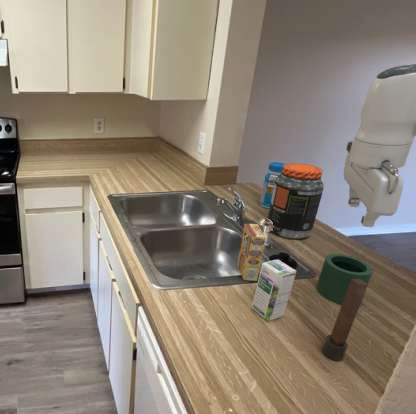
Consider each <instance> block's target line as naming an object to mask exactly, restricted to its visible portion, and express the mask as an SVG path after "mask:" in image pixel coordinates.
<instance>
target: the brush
mask: <svg viewBox="0 0 416 414" xmlns="http://www.w3.org/2000/svg"><path fill="white" fill-rule="evenodd" d="M368 285H369V284H368ZM368 285H367V284H366V283H365V282H364V281H363V280H361V279H351V281H350V284H349V287H348V290H347V292H346V295H345V298H344V301H343V303H342V304H341V306H340V309H339V312H338V315H337V317H336V320H335V323H334V324H333V328H332V331H331V333H330V334H327V335H326V337H325V340H324V342H323V346H322V348H321V353H322V354H323V356H324V357H326V358H327V359H328V360H329V361H333V362H342V361H343V360H344V357H345V355H346V352H347V350H348V347H349V343H348V341H347V340H348V337H349V335H350V332H351V330H352V327H353V324H354V321H355V319H356V316H357V314H358V313H359V309H360V306H361V304H362V302H363V299H364V297H365V293H366V291H367V288H368Z"/></svg>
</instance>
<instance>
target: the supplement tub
mask: <svg viewBox="0 0 416 414" xmlns="http://www.w3.org/2000/svg"><path fill="white" fill-rule="evenodd" d="M284 164H285V165H284V166H283V169H282V173H281V174H280V175H279V176H278V177H277V178H276V180H275V184H274V189H273V194H272V199H271V204H270V209H269V208H268V214H267V218H268V219H270V220H271V221H272V222H273V226H274V227H273V231H272V232H271V233H273V234H274V235H276V236H279V237H282V238H286V239H299V240H300V239H305V238H308V237H310V236H311V235H312V232H313V229H314V227H315V226H314V225H315V221H316V218H317V215H318V212H319V208H320V203H321V201H322V197H323V192H324V188H325V183H324V181H323V179H322V176H323V169H322V168H321V167H319V166H316V165H313V164H308V163H307V164H306V163H298V162H297V163H294V162H293V163H292V162H291V163H284Z"/></svg>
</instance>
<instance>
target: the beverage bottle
mask: <svg viewBox="0 0 416 414" xmlns="http://www.w3.org/2000/svg"><path fill="white" fill-rule="evenodd" d="M285 164H286V163H283V162H278V161H272V162H269V164H268V172H267V173H266V174H265V175H264V180H263V183H262V185H263V186H262V190H261V194H260V195H261V196H260V199H259V205H260V206H261V207H263V208H264V209H265V208H266V209H268V210H269V209H270V204H271V199H272V194H273V189H274V184H275V180H276V178H277V177H278V176H279V175H280V174H281V173H282V169H283V166H284V165H285Z"/></svg>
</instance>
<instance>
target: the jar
mask: <svg viewBox="0 0 416 414" xmlns="http://www.w3.org/2000/svg"><path fill="white" fill-rule="evenodd" d="M373 273H374V269H373V267H372V266H371V265H370V264H369V263H368V262H366V261H364V260H362V259H360V258H357V257H356V256H352V255H348V254H344V253H343V254H342V253H331V254H327V255H326V256H325V258H324V261H323V264H322V268H321V271H320V274H319V276H318V281H317V284H316V290H317V292H318V294H319V295H321V296H322V297H323V298H325V299H327V300H328V301H330V302H332V303H335V304H338V305H342V303H343V301H344V298H345V295H346V292H347V290H348V287H349V284H350V281H351V279H361V280H363V281H364V282H365V283H366V284H367V285H369V283H370V280H371V278H372V275H373Z"/></svg>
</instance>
